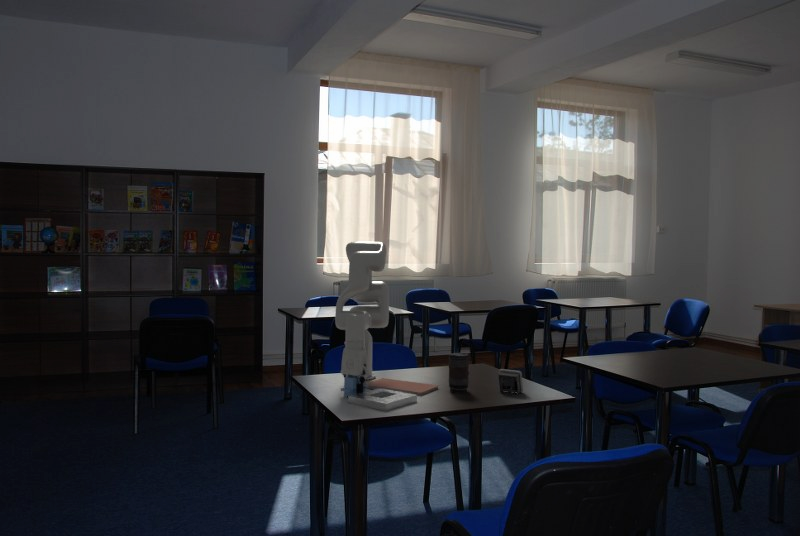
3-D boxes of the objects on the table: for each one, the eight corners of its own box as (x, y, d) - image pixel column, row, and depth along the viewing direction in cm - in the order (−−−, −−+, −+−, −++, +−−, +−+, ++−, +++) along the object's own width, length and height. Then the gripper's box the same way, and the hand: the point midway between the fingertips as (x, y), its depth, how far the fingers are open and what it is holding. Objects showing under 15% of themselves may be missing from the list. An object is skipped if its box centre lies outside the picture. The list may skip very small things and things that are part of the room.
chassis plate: (348, 402, 236) (348, 395, 236) (379, 394, 250) (380, 388, 250) (385, 410, 225) (385, 403, 225) (416, 401, 239) (416, 394, 239)
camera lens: (457, 388, 263) (457, 351, 262) (472, 391, 257) (473, 354, 257) (444, 391, 257) (444, 353, 257) (459, 394, 251) (460, 356, 251)
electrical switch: (523, 392, 256) (523, 370, 255) (519, 396, 252) (518, 373, 251) (501, 390, 261) (501, 367, 260) (496, 393, 256) (496, 371, 255)
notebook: (361, 389, 261) (361, 384, 261) (382, 382, 276) (382, 377, 276) (419, 397, 247) (419, 392, 247) (439, 389, 262) (439, 384, 262)
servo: (349, 399, 242) (349, 377, 241) (340, 397, 245) (340, 375, 244) (368, 394, 250) (368, 373, 250) (359, 392, 253) (360, 371, 253)
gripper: (332, 344, 249) (332, 390, 250) (365, 348, 239) (364, 397, 239) (345, 342, 255) (345, 387, 256) (378, 346, 245) (377, 394, 245)
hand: (354, 391), depth 247 cm, fingers closed on servo, 4 cm apart
